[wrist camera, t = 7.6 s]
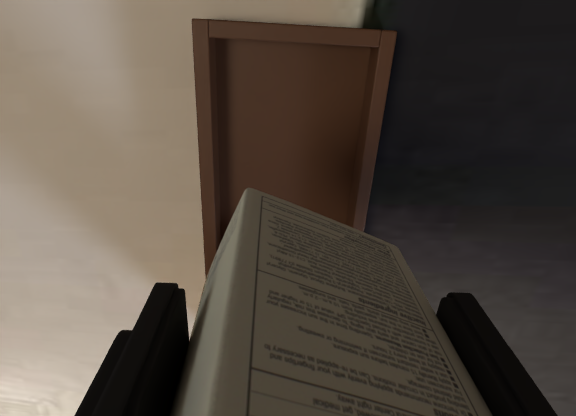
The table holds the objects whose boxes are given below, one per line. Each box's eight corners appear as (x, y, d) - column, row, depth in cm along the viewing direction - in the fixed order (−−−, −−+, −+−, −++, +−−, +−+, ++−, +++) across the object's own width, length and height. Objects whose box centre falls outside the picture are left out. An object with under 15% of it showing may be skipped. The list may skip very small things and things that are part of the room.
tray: (385, 29, 21) (397, 30, 18) (348, 274, 28) (353, 296, 26) (201, 18, 20) (191, 18, 18) (212, 269, 28) (206, 291, 25)
